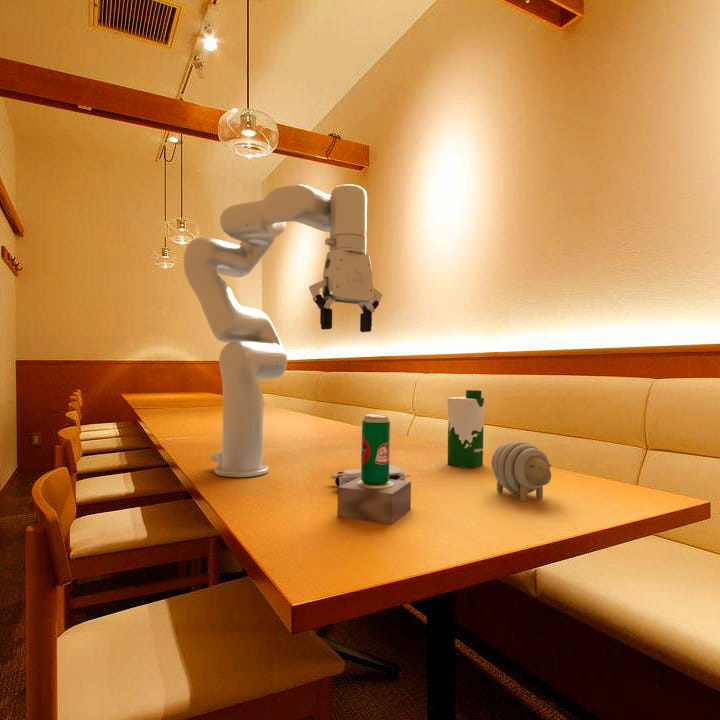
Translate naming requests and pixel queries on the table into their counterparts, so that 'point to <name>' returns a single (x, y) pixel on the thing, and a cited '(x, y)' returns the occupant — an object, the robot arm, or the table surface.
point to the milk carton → (466, 429)
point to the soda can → (375, 450)
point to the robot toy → (350, 475)
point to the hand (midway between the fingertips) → (346, 330)
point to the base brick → (374, 500)
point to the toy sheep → (521, 469)
